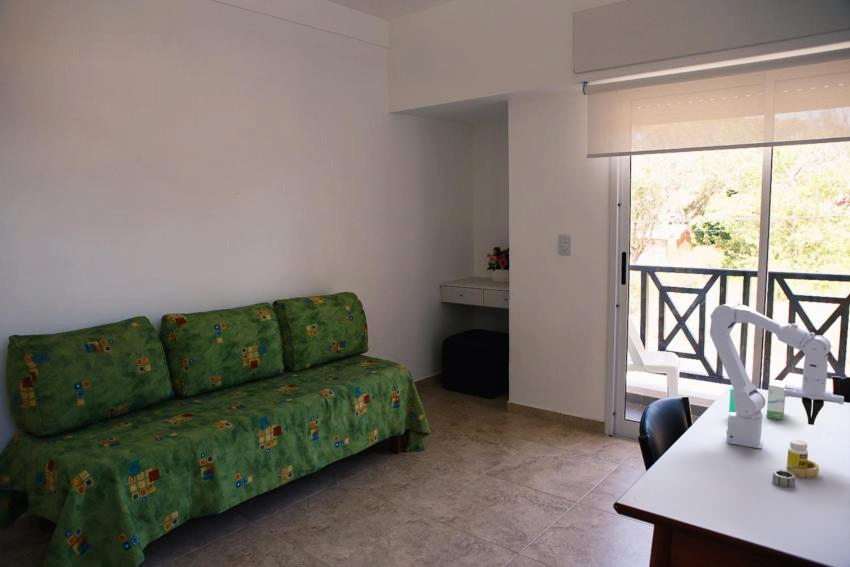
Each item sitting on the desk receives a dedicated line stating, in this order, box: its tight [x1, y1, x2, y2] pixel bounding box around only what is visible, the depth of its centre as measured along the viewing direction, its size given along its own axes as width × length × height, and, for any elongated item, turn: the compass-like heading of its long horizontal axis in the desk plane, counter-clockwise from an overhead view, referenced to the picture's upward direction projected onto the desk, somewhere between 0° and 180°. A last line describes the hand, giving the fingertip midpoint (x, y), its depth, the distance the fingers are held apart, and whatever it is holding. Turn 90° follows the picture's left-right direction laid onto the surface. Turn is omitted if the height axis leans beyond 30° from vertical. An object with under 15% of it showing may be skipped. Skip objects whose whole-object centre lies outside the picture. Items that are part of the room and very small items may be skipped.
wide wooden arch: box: [786, 459, 820, 480], centre depth 167 cm, size 7×8×2 cm
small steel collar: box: [771, 469, 796, 489], centre depth 161 cm, size 5×5×2 cm
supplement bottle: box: [786, 439, 809, 470], centre depth 168 cm, size 5×5×8 cm
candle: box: [728, 386, 736, 413], centre depth 208 cm, size 6×6×12 cm
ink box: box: [766, 379, 787, 421], centre depth 211 cm, size 8×5×12 cm, turn 146°
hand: (810, 423), depth 176 cm, fingers closed
